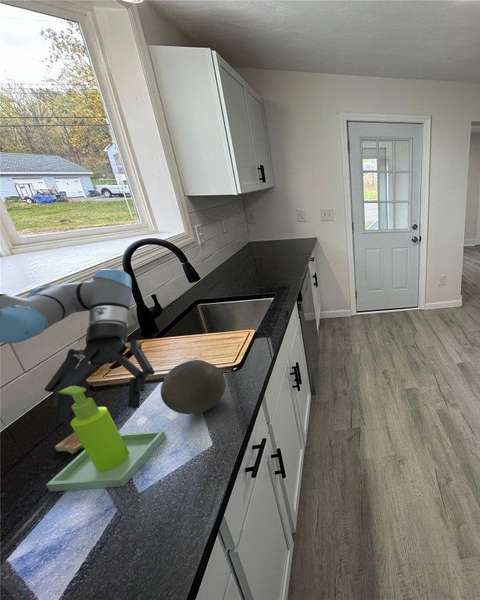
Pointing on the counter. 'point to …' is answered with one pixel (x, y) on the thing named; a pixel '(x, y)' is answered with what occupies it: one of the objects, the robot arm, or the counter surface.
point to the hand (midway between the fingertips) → (98, 414)
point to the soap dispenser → (96, 431)
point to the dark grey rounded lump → (193, 387)
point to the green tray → (87, 477)
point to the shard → (70, 444)
